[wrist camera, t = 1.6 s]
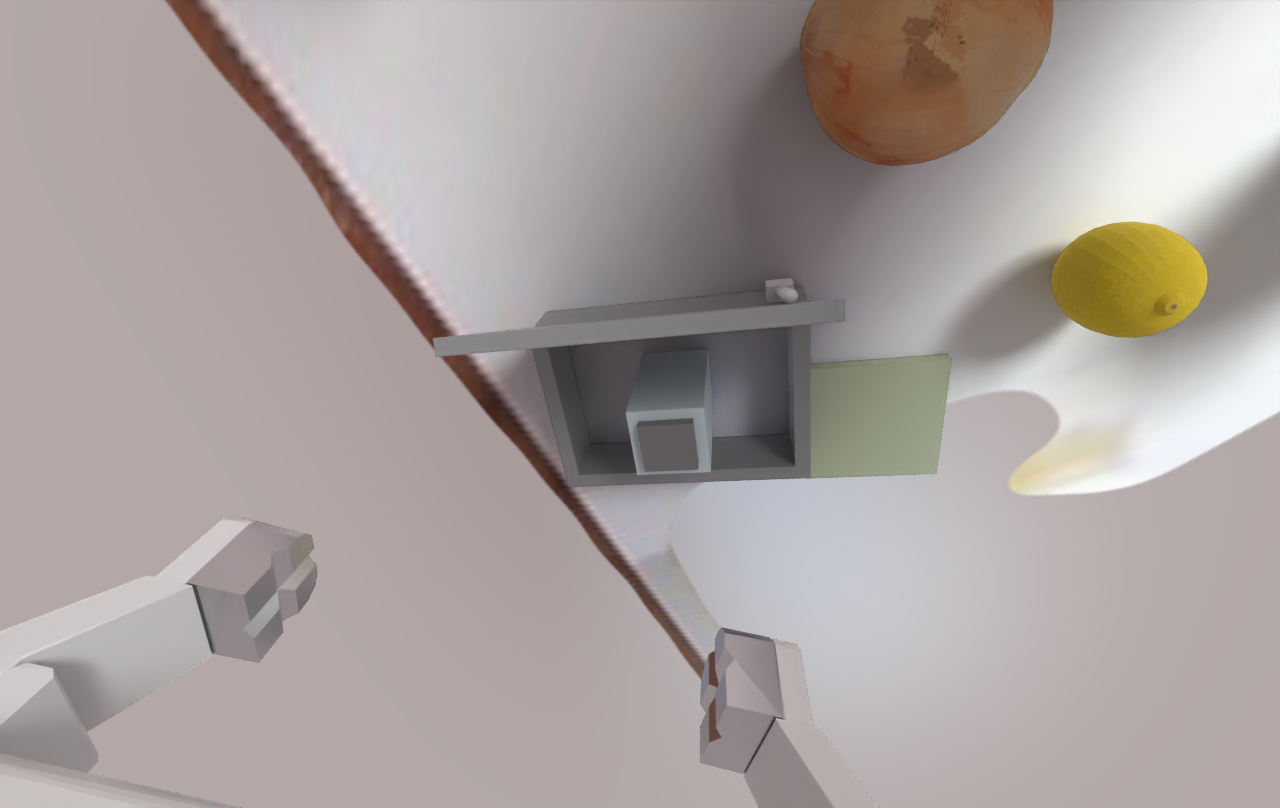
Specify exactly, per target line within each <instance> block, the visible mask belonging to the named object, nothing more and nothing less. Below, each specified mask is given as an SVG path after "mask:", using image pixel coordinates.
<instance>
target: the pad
mask: <svg viewBox="0 0 1280 808" xmlns="http://www.w3.org/2000/svg"><path fill="white" fill-rule="evenodd" d="M950 367H951V358H950V357H949V356H948V354H942V355H928V356H915V357H901V358H888V359H874V360H861V361H847V362H834V363H820V364H810V399H811V478H832V477H833V478H834V477H859V476H860V477H861V476H886V475H916V474H936V473H937V467H938V459H939V451H940V444H941V435H942V428H943V420H944V412H945V405H946V398H947V390H948V382H949V375H950Z"/></svg>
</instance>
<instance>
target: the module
mask: <svg viewBox="0 0 1280 808" xmlns="http://www.w3.org/2000/svg"><path fill="white" fill-rule="evenodd" d="M713 410H714V403H713V393H712V383H711V373H710V363H709V353H708V349H696V350H684V351H671V352H659V353H647V354H643V357H642V360H641V364H640V367H639V370H638V373H637V377H636V380H635V383H634V386H633V390H632V393H631V396H630V399H629V403H628V406H627V409H626V418H627V423H628V428H629V434H630V439H631V444H632V449H633V455H634V460H635V465H636V471H637V475H650V474H675V473H701V472H711V455H712V433H713Z"/></svg>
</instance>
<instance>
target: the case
mask: <svg viewBox="0 0 1280 808" xmlns="http://www.w3.org/2000/svg"><path fill="white" fill-rule="evenodd" d="M765 287H766V290H760V291H750V292H740V293H730V294H720V295H710V296H700V297H690V298H680V299H670V300H660V301H650V302H640V303H630V304H620V305H610V306H600V307H590V308H580V309H570V310H560V311H550V312H546V313H545V314H544V315H543V317H542V318H541V319H540V321H539V322H538V323H537V324H536V326H535V327H534V328H524V329H515V330H506V331H497V332H488V333H478V334H469V335H460V336H451V337H442V338H433V342H434V348H435V355H436V357H439V356H451V355H462V354H474V353H485V352H497V351H508V350H519V349H531V348H532V350H533V353H534V357H535V361H536V365H537V369H538V372H539V376H540V380H541V384H542V387H543V391H544V395H545V399H546V403H547V406H548V410H549V414H550V418H551V421H552V425H553V429H554V433H555V437H556V440H557V444H558V448H559V452H560V455H561V459H562V463H563V467H564V470H565V474H566V478H567V482H568V486H569V487H577V486H604V485H631V484H658V483H685V482H711V481H712V482H713V481H739V480H766V479H791V478H792V479H794V478H811V399H810V324H817V323H829V322H840V321H845V311H844V300H827V301H809V302H808V301H807V298H806V296H805V293H804V290H803V287H802V286H800V287H794V282H793V279H792V278H786V279H776V280H766V281H765ZM782 327H787V355H788V394H789V434H776V435H756V436H737V437H718V438H712V455H711V472H701V473H675V474H650V475H637V471H636V465H635V460H634V455H633V449H632V444H631V442H621V443H601V444H591V442H590V438H589V434H588V429H587V425H586V421H585V416H584V412H583V408H582V403H581V399H580V395H579V390H578V386H577V381H576V377H575V373H574V368H573V364H572V360H571V355H570V351H569V347H568V346H575V345H587V344H598V343H610V342H621V341H633V340H644V339H656V338H667V337H678V336H690V335H701V334H713V333H724V332H736V331H747V330H759V329H770V328H782Z"/></svg>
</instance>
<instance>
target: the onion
mask: <svg viewBox="0 0 1280 808" xmlns="http://www.w3.org/2000/svg"><path fill="white" fill-rule="evenodd" d="M1052 18H1053V0H816V2H815V3H814V5H813V6H812V8H811V10H810V12H809V15H808V18H807V20H806V22H805V25H804V27H803V30H802V34H801V40H800V49H801V60H802V65H803V69H804V73H805V77H806V83H807V90H808V93H809V96H810V99H811V103H812V106H813V109H814V113H815V115H816V116H817V118H818V120H819V122H820V124H821V126H822V128H823V130H824V131H825V132H826V133H827V134H828V135H829V136H830V137H831V138H832V139H833V140H834V141H835V142H836V143H837V144H838V145H839V146H840V147H841V148H843V149H844V150H845V151H847V152H849V153H850V154H852V155H854V156H857V157H859V158H861V159H863V160H866V161H869V162H873V163H877V164H881V165H890V166H899V165H908V164H915V163H922V162H926V161H930V160H934V159H937V158H940V157H943V156H945V155H948V154H950V153H952V152H954V151H957V150H959V149H961V148H963V147H965V146H967V145H969V144H970V143H972V142H974V141H975V140H977V139H978V138H980V137H981V136H982V135H983V134H985V133H986V132H987V131H988V130H989V129H990V128H991V127H992V126H994V125H995V124H996V123H997V122H998V121H999V119H1000V118H1001V117H1002V116H1003V115H1004V113H1005V112H1006V111H1007V110H1008V108H1009V107H1010V106H1011V104H1012V103H1013V102H1014V101H1015V99H1016V98H1017V96H1018V95H1019V94H1020V93H1021V92H1022V91H1023V90H1024V89H1025V88H1026V87H1027V85H1028V84H1029V83H1030V82H1031V81H1032V79H1033V78H1034V77H1035V75H1036V73H1037V72H1038V70H1039V68H1040V66H1041V64H1042V61H1043V59H1044V56H1045V54H1046V52H1047V50H1048V47H1049V42H1050V35H1051V25H1052Z"/></svg>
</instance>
